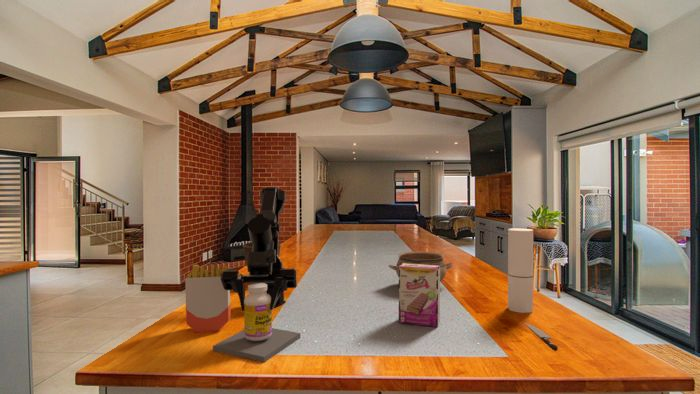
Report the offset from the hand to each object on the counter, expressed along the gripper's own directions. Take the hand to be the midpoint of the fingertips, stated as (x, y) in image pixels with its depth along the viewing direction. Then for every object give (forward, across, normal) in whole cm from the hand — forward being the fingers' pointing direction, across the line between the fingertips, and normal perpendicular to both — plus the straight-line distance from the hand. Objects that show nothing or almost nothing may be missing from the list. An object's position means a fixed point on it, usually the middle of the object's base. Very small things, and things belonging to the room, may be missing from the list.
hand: (257, 309), depth 94 cm
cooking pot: (-27, +55, +41) cm, 73 cm away
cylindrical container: (-6, +78, +20) cm, 81 cm away
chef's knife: (+8, +73, +6) cm, 73 cm away
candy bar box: (-1, +44, +14) cm, 46 cm away
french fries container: (-3, -15, +16) cm, 22 cm away
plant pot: (-36, -7, +50) cm, 63 cm away
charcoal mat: (+6, 0, +7) cm, 9 cm away
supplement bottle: (+4, 0, +6) cm, 7 cm away
